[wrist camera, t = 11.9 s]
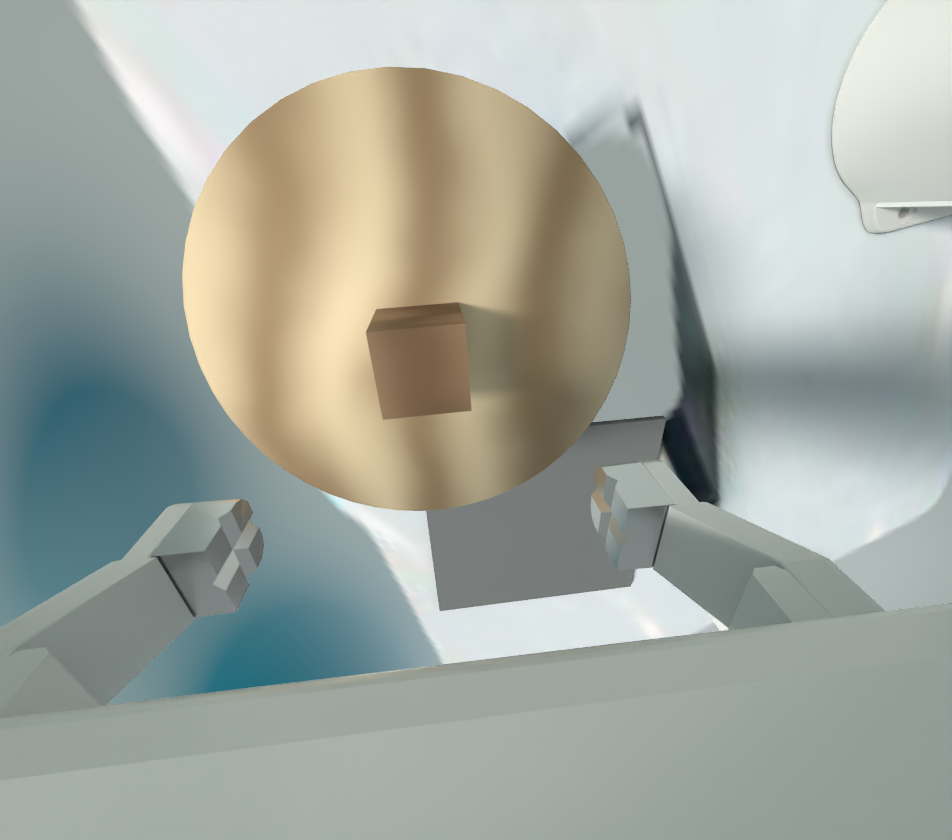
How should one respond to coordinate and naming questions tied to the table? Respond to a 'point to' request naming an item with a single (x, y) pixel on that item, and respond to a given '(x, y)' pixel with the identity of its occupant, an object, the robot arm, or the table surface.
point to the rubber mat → (538, 527)
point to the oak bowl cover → (406, 288)
